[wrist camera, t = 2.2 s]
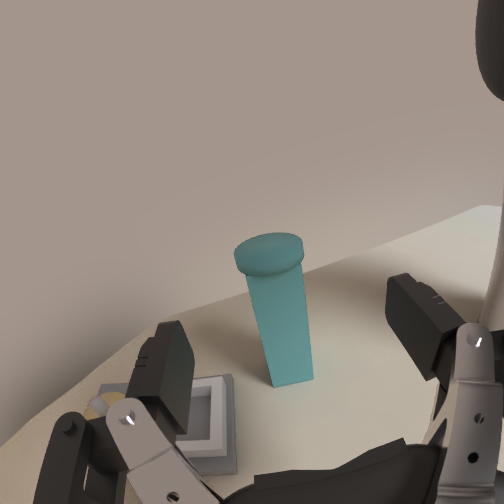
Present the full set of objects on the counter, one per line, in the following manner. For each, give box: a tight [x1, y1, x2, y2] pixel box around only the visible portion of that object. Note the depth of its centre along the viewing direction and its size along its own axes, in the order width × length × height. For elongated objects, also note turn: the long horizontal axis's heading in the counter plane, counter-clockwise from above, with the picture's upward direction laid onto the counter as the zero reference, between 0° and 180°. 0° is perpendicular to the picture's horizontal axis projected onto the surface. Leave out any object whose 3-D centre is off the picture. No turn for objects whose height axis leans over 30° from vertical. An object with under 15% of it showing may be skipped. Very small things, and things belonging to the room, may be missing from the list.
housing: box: [84, 374, 237, 476], centre depth 22 cm, size 16×11×4 cm
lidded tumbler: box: [234, 233, 313, 387], centre depth 24 cm, size 5×5×14 cm
